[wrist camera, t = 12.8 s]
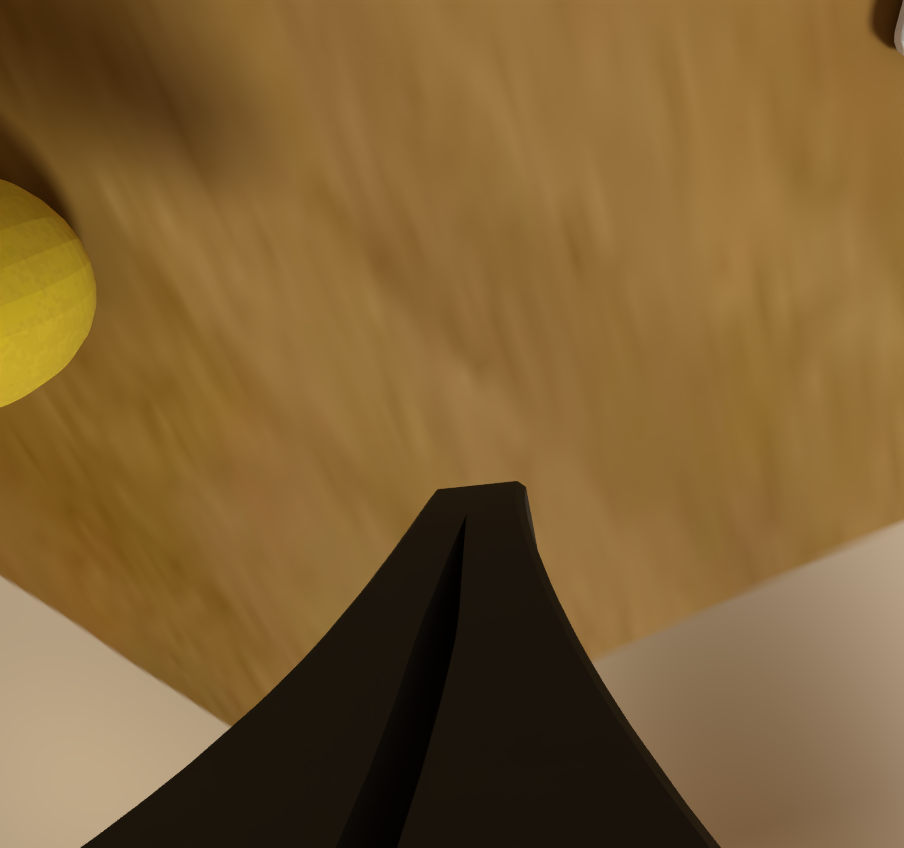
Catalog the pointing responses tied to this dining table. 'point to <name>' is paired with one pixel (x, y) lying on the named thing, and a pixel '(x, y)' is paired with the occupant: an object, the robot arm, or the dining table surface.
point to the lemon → (39, 293)
